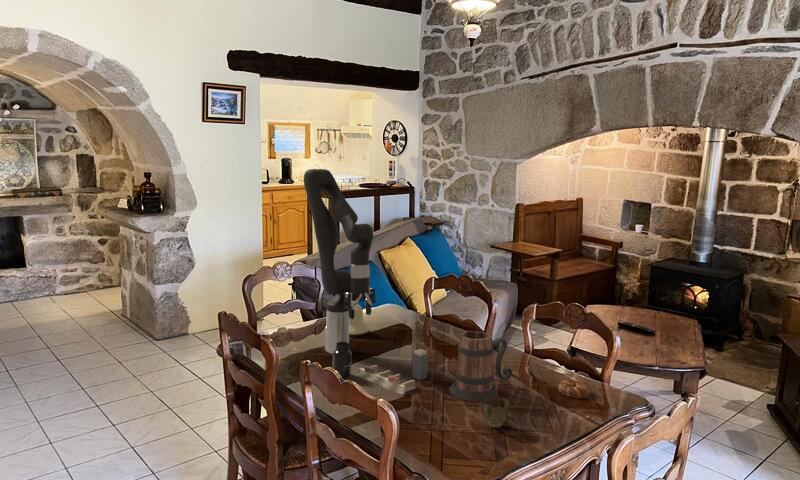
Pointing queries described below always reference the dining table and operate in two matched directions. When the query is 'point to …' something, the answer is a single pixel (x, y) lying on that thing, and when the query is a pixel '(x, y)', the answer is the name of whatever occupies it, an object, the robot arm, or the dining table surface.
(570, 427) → the dining table surface
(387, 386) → the dock
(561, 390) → the bread roll
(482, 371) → the tankard
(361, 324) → the handbell
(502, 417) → the cup
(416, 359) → the grey tall block
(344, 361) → the supplement bottle
